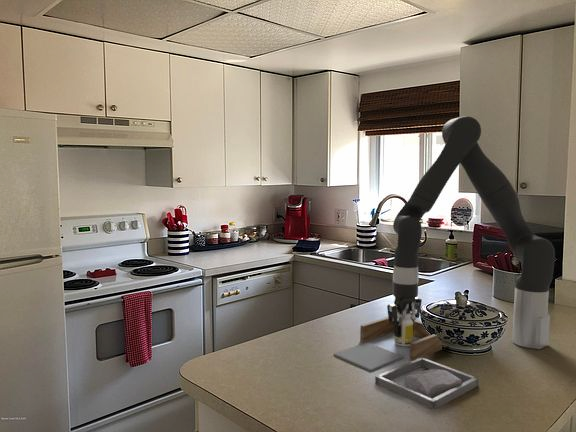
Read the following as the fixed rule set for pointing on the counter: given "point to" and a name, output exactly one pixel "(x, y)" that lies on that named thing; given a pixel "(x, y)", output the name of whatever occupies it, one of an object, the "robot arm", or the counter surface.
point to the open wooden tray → (417, 348)
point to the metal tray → (421, 399)
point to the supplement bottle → (405, 331)
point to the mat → (368, 356)
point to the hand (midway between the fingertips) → (403, 334)
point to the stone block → (432, 382)
